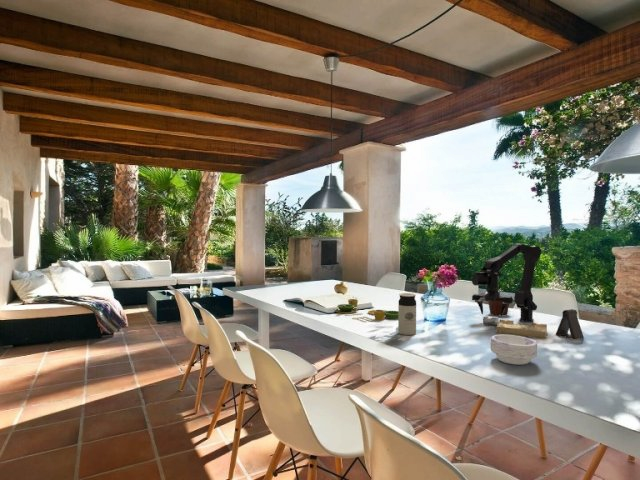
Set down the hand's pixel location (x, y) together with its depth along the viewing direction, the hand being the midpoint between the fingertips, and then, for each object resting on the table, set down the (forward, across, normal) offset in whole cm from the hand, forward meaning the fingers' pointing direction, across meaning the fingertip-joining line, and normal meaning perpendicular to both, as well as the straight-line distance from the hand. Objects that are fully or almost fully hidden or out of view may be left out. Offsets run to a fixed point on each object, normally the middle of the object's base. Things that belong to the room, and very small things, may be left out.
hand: (491, 315), depth 210 cm
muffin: (+4, 0, +26) cm, 26 cm away
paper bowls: (+4, +16, -63) cm, 65 cm away
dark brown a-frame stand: (+4, +34, -12) cm, 36 cm away
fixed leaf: (+4, +15, -15) cm, 22 cm away
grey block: (+4, 0, -3) cm, 5 cm away
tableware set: (+5, -65, -12) cm, 67 cm away
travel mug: (+4, -30, -44) cm, 54 cm away
